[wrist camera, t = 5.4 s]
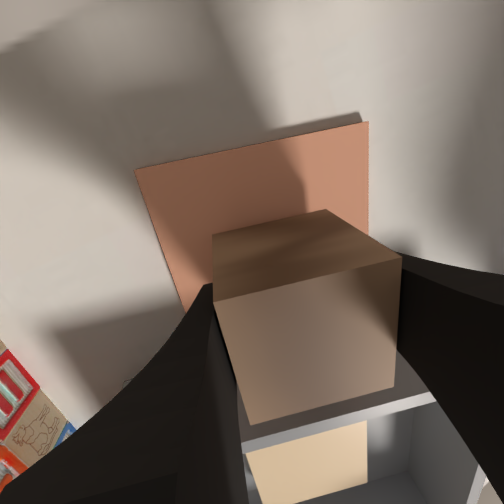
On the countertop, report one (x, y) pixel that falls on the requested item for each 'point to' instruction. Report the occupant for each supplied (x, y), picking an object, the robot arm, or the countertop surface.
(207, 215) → the terracotta mat
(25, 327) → the countertop surface
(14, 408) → the stack of blocks
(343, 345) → the walnut block
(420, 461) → the grey crate
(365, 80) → the countertop surface
